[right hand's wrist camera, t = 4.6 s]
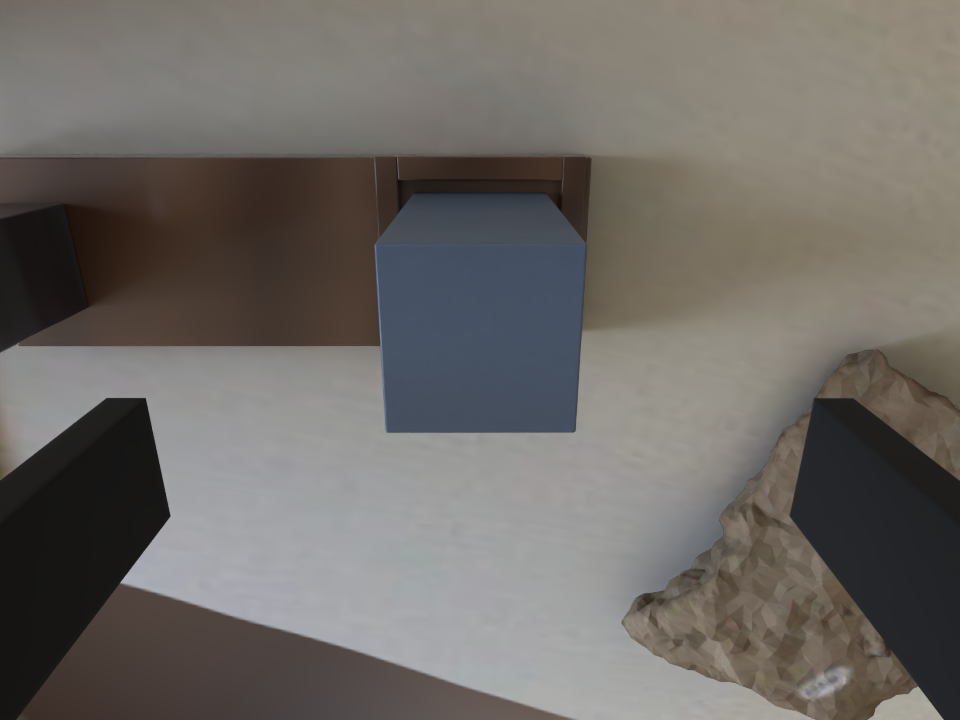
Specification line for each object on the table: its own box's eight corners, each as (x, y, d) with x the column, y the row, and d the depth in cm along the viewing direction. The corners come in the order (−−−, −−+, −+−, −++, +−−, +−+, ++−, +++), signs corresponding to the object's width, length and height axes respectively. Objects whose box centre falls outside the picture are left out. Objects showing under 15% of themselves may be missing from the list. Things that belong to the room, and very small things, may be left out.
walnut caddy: (584, 152, 30) (631, 171, 21) (574, 335, 34) (610, 421, 24) (-5, 152, 30) (-218, 171, 21) (43, 335, 34) (-122, 421, 24)
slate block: (545, 191, 29) (587, 243, 18) (541, 317, 31) (576, 433, 20) (414, 191, 29) (373, 243, 18) (418, 317, 31) (385, 433, 20)
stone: (811, 740, 40) (857, 819, 34) (611, 607, 40) (622, 662, 34) (1037, 469, 37) (1132, 504, 31) (818, 328, 37) (869, 335, 31)
